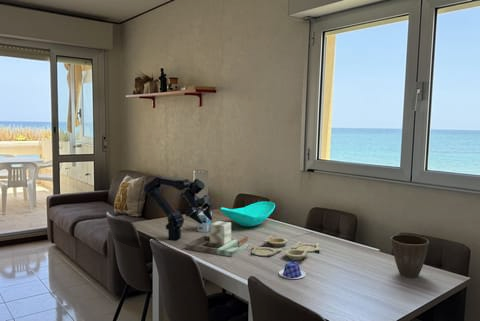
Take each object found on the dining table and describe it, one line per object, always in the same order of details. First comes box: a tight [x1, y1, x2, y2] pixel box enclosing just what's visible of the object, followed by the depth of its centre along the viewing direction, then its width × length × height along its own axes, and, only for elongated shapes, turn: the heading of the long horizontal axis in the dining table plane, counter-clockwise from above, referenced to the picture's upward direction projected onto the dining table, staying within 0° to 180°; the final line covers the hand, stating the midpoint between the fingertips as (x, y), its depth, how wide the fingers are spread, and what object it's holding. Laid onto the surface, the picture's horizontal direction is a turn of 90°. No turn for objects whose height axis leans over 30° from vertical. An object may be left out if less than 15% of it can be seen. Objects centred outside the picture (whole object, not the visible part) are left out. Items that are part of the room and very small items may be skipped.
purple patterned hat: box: [278, 261, 307, 280], centre depth 167 cm, size 12×12×5 cm
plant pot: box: [390, 234, 430, 279], centre depth 165 cm, size 15×15×16 cm
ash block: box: [209, 220, 232, 244], centre depth 208 cm, size 9×8×10 cm
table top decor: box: [220, 201, 276, 228], centre depth 251 cm, size 40×28×13 cm
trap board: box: [185, 234, 249, 257], centre depth 205 cm, size 28×19×6 cm
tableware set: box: [251, 234, 322, 261], centre depth 199 cm, size 35×29×4 cm
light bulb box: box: [196, 211, 213, 233], centre depth 241 cm, size 11×7×11 cm, turn 168°
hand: (206, 221), depth 209 cm, fingers open, 9 cm apart
